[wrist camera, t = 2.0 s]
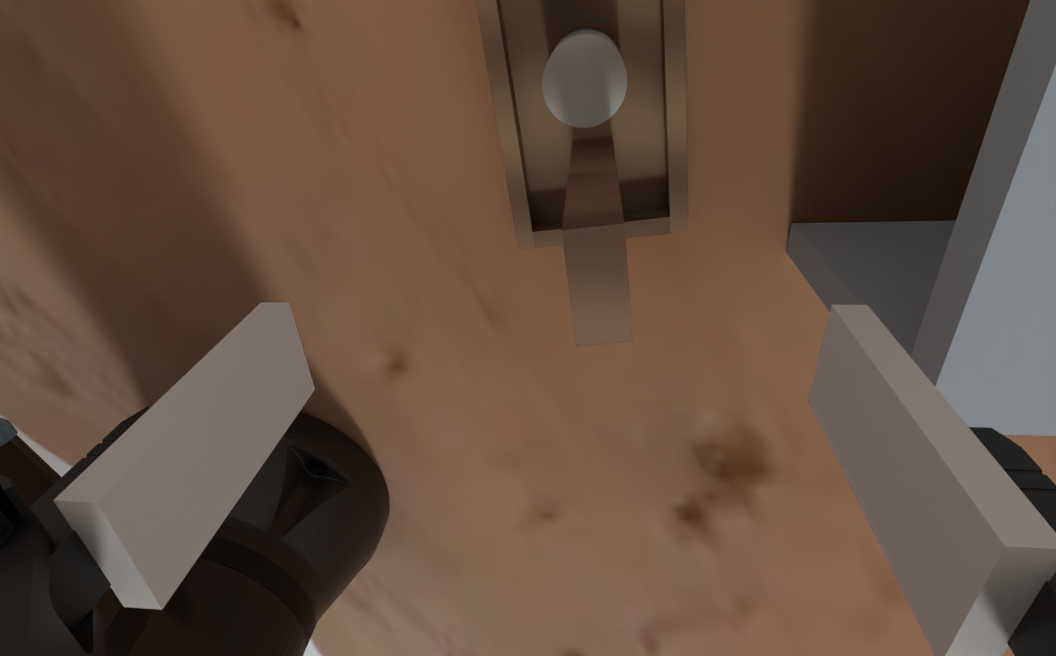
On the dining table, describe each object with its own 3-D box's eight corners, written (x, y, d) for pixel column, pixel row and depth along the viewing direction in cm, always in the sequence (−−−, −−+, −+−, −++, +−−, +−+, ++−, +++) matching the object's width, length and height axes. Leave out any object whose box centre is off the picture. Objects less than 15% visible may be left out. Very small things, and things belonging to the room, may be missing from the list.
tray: (682, 216, 29) (733, 347, 18) (522, 234, 30) (486, 365, 20) (673, -211, 21) (754, -403, 10) (457, -163, 22) (338, -291, 12)
